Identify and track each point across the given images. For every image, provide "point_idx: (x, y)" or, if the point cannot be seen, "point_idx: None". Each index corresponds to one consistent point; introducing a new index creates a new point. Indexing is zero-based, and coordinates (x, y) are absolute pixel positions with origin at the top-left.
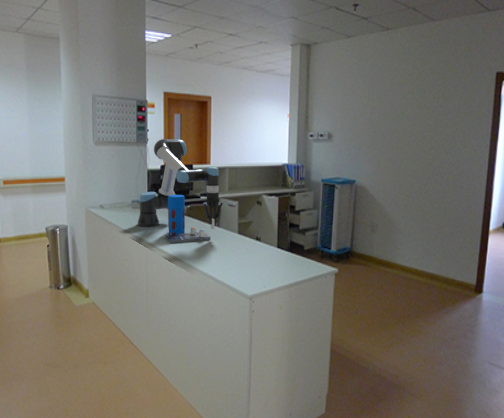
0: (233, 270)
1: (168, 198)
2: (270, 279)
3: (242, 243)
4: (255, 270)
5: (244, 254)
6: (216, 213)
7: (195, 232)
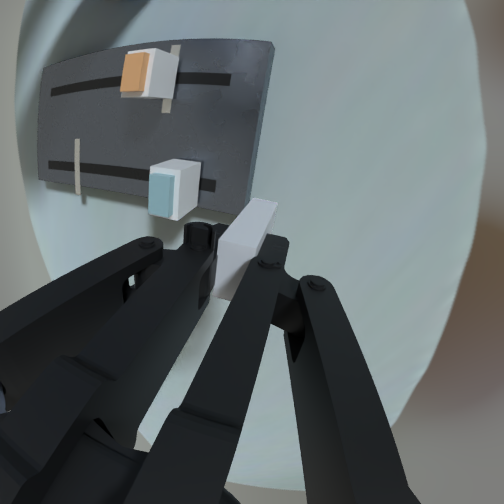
0: None
1: None
2: None
3: None
4: None
5: (260, 427)
6: (306, 327)
7: (163, 98)
